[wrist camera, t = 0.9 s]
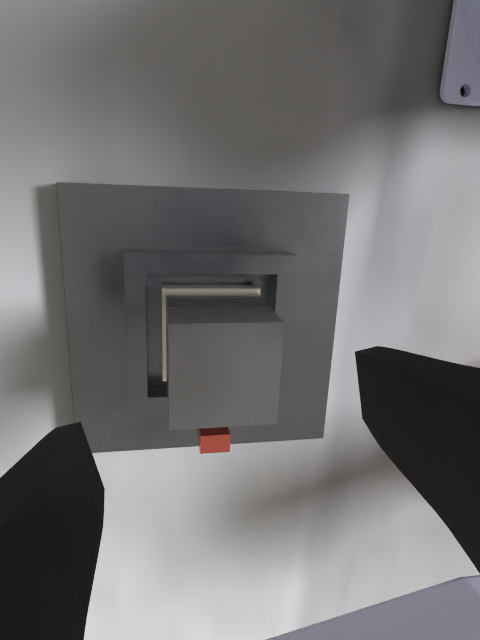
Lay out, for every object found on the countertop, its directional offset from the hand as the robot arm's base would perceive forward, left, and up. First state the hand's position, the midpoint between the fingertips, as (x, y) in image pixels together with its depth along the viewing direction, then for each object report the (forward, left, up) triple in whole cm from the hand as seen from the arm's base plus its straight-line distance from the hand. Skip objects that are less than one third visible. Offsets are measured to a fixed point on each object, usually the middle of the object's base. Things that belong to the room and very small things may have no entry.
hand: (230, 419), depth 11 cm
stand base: (0, 0, -10) cm, 10 cm away
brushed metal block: (0, 0, -9) cm, 9 cm away
